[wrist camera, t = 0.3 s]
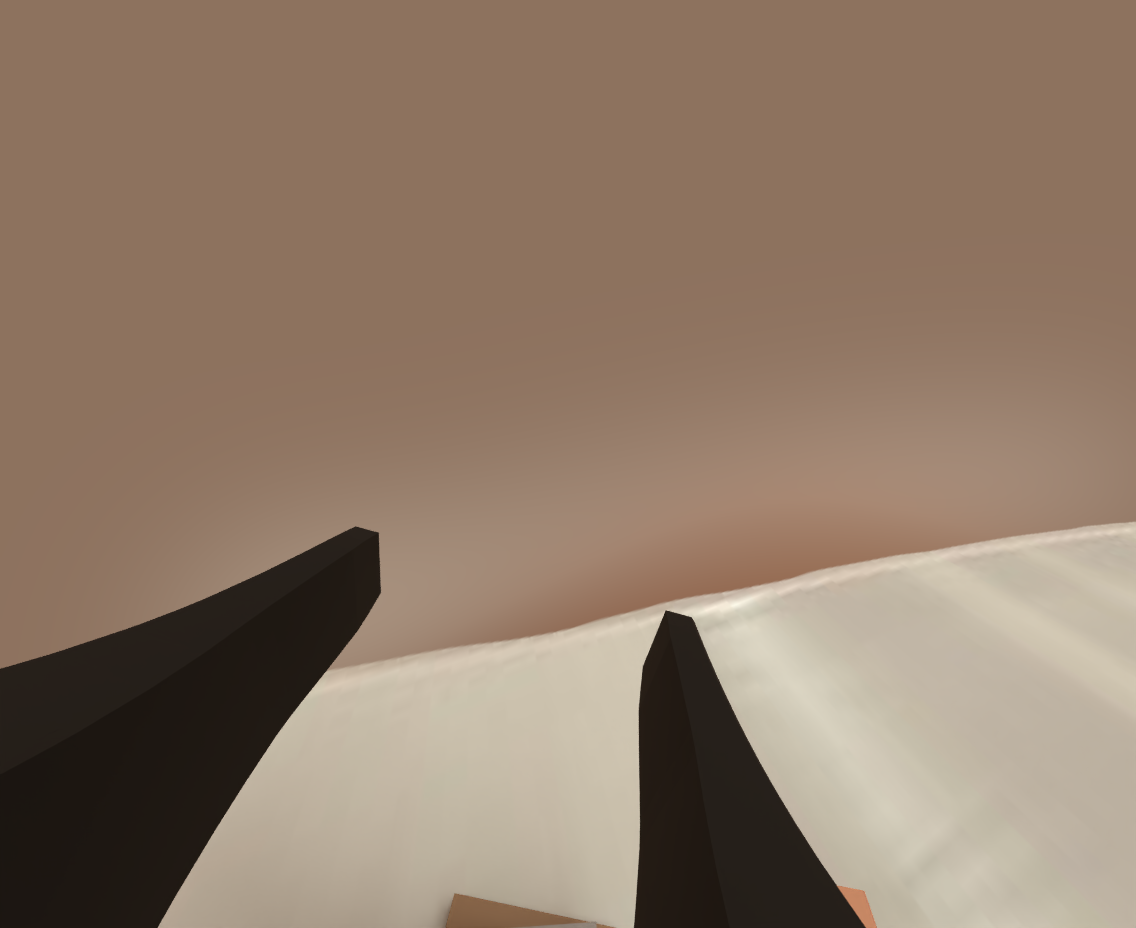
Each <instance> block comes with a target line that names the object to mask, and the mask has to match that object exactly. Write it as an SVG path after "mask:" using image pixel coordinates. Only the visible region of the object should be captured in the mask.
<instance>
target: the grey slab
mask: <svg viewBox="0 0 1136 928" xmlns="http://www.w3.org/2000/svg"><path fill="white" fill-rule="evenodd" d="M516 928H597V927H596V922H587V923H573V924H559V925H544V926H530V927H516Z"/></svg>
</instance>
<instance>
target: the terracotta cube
mask: <svg viewBox="0 0 1136 928" xmlns="http://www.w3.org/2000/svg"><path fill="white" fill-rule="evenodd" d="M837 887H838V888H839V889H840V891H841V892H842V894H843V895H844V897H845V898H846V899H847V901H848V902H849V904H850V905H851V907H852V908H853V910H854V911H855V912H856V914H857V915H858V917H859V918H860V920H861V921H862V922H863V924H864V925H865V927H866V928H877V927H876V924H875V921H874V918H873V915H872V912H871V909H870V906H869V903H868V900H867V897H866V894H865V891H862V890H857V889H852V888H847V887H842V886H837Z"/></svg>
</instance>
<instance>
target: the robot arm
mask: <svg viewBox="0 0 1136 928" xmlns="http://www.w3.org/2000/svg"><path fill="white" fill-rule="evenodd" d="M380 593H381V587H380V558H379V533H378V532H374V531H370V530H366V529H363V528H359V527H354V528H352V529H349V530H347V531H345V532H343V533H341V534H339V535H337V536H335V537H333V538H331V539H329V540H327V541H325V542H323V543H321V544H319V545H317V546H315V547H313V548H311V549H310V550H308V551H305V552H304V553H302V554H300V555H297V556H295V557H294V558H291V559H290V560H287V561H285V562H283V563H281V564H279V565H277V566H275V567H273V568H271V569H269V570H267V571H265V572H263V573H261V574H259V575H257V576H255V577H252V578H250V579H248V580H246V581H243V582H241V583H239V584H237V585H235V586H232V587H230V588H228V589H226V590H223V591H221V592H219V593H217V594H215V595H212V596H210V597H208V598H206V599H203V600H201V601H198V602H196V603H194V604H191V605H189V606H186V607H184V608H181V609H179V610H176V611H174V612H171V613H168V614H166V615H163V616H161V617H158V618H155V619H153V620H150V621H147V622H145V623H142V624H140V625H137V626H134V627H131V628H128V629H126V630H122V631H119V632H116V633H113V634H110V635H107V636H104V637H101V638H98V639H95V640H93V641H90V642H86V643H84V644H80V645H77V646H74V647H71V648H68V649H65V650H62V651H59V652H56V653H53V654H50V655H46V656H43V657H39V658H36V659H33V660H29V661H26V662H22V663H19V664H16V665H12V666H9V667H5V668H1V669H0V928H158V926H159V924H160V922H161V921H162V919H163V917H164V915H165V914H166V912H167V910H168V908H169V907H170V905H171V903H172V901H173V900H174V898H175V896H176V894H177V893H178V891H179V889H180V888H181V886H182V884H183V883H184V881H185V879H186V878H187V876H188V874H189V873H190V871H191V869H192V868H193V866H194V864H195V863H196V861H197V859H198V858H199V856H200V854H201V853H202V851H203V849H204V848H205V846H206V844H207V843H208V841H209V839H210V838H211V836H212V834H213V833H214V831H215V830H216V828H217V826H218V825H219V823H220V822H221V820H222V818H223V817H224V815H225V814H226V812H227V811H228V809H229V807H230V806H231V804H232V803H233V801H234V800H235V798H236V796H237V795H238V793H239V792H240V790H241V788H242V787H243V785H244V784H245V782H246V781H247V779H248V778H249V776H250V775H251V773H252V771H253V770H254V768H255V767H256V765H257V764H258V762H259V761H260V759H261V758H262V756H263V755H264V753H265V752H266V750H267V749H268V747H269V746H270V744H271V743H272V741H273V740H274V738H275V737H276V735H277V734H278V732H279V731H280V730H281V728H282V727H283V726H284V724H285V723H286V722H287V720H288V719H289V718H290V716H291V715H292V714H293V712H294V711H295V710H296V708H297V707H298V706H299V705H300V703H301V702H302V701H303V700H304V698H305V697H306V696H307V695H308V693H309V692H310V691H311V690H312V688H313V687H314V686H315V684H316V683H317V682H318V681H319V679H320V678H321V677H322V676H323V674H324V673H325V672H326V671H327V669H328V668H329V667H330V665H331V664H332V663H333V662H334V660H335V659H336V658H337V657H338V655H339V654H340V653H341V651H342V650H343V649H344V647H345V646H346V645H347V644H348V642H349V641H350V640H351V639H352V637H353V636H354V635H355V633H356V632H357V631H358V629H359V628H360V626H361V625H362V623H363V621H364V620H365V618H366V617H367V615H368V614H369V612H370V610H371V609H372V607H373V605H374V603H375V602H376V600H377V598H378V597H379V595H380ZM639 778H640V850H639V865H638V880H637V895H636V910H635V923H634V928H866V927H865V925H864V924H863V922H862V921H861V920H860V918H859V917H858V915H857V914H856V912H855V911H854V910H853V908H852V907H851V905H850V904H849V902H848V901H847V899H846V898H845V897H844V895H843V894H842V892H841V891H840V889H839V888H838V887H837V885H836V884H835V882H834V881H833V879H832V878H831V876H830V875H829V874H828V872H827V871H826V869H825V868H824V866H823V865H822V864H821V862H820V861H819V859H818V857H817V856H816V854H815V853H814V851H813V850H812V848H811V847H810V845H809V843H808V842H807V840H806V839H805V837H804V836H803V834H802V832H801V831H800V829H799V828H798V826H797V825H796V823H795V821H794V820H793V818H792V817H791V815H790V813H789V812H788V810H787V808H786V807H785V805H784V803H783V802H782V800H781V798H780V797H779V795H778V793H777V792H776V790H775V788H774V786H773V785H772V783H771V781H770V780H769V778H768V776H767V774H766V772H765V771H764V769H763V767H762V765H761V764H760V762H759V760H758V758H757V756H756V754H755V752H754V750H753V749H752V747H751V745H750V743H749V741H748V739H747V737H746V735H745V733H744V731H743V729H742V727H741V726H740V724H739V722H738V720H737V718H736V715H735V713H734V711H733V709H732V707H731V705H730V703H729V701H728V699H727V697H726V695H725V692H724V690H723V688H722V686H721V684H720V682H719V679H718V677H717V675H716V673H715V670H714V668H713V666H712V664H711V661H710V659H709V657H708V654H707V652H706V649H705V647H704V645H703V642H702V640H701V637H700V635H699V632H698V630H697V627H696V625H695V622H694V620H693V619H692V617H689V616H685V615H681V614H677V613H674V612H670V611H665V614H664V616H663V619H662V621H661V623H660V626H659V628H658V631H657V633H656V636H655V638H654V641H653V643H652V645H651V648H650V650H649V653H648V655H647V658H646V660H645V663H644V665H643V671H642V681H641V691H640V702H639Z"/></svg>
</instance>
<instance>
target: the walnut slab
mask: <svg viewBox="0 0 1136 928" xmlns="http://www.w3.org/2000/svg"><path fill="white" fill-rule="evenodd" d="M573 923H587V922H586V921H582V920H577V919H572V918H568V917H563V916H558V915H554V914H549V913H544V912H540V911H535V910H530V909H525V908H521V907H516V906H511V905H507V904H502V903H497V902H493V901H488V900H483V899H479V898H474V897H469V896H465V895H460V894H454V897H453V901H452V905H451V909H450V913H449V916H448V920H447V924H446V928H516V927H530V926H544V925H559V924H573ZM596 927H597V928H614V927H610V926H605V925H600V924H596Z"/></svg>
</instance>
